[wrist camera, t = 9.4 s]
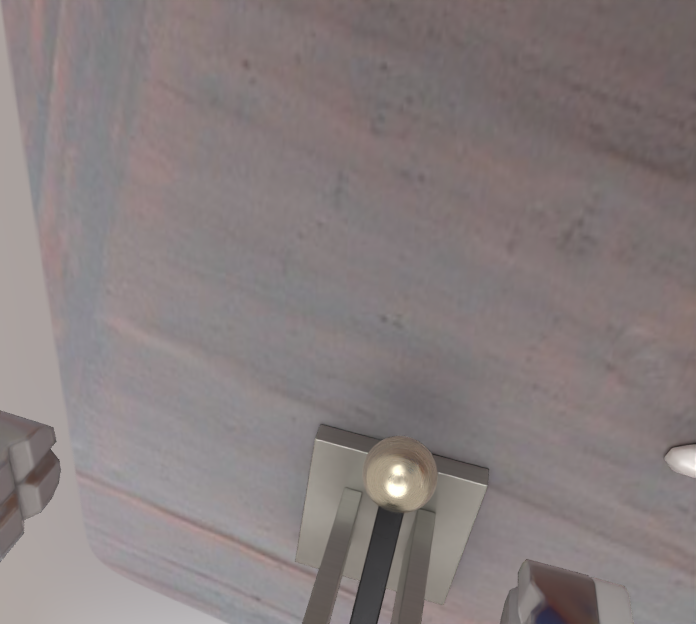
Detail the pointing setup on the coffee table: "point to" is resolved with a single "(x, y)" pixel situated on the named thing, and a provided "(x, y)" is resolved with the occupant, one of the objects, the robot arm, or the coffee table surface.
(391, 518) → the lever
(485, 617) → the coffee table surface
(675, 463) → the figurine
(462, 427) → the coffee table surface
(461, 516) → the bracket
